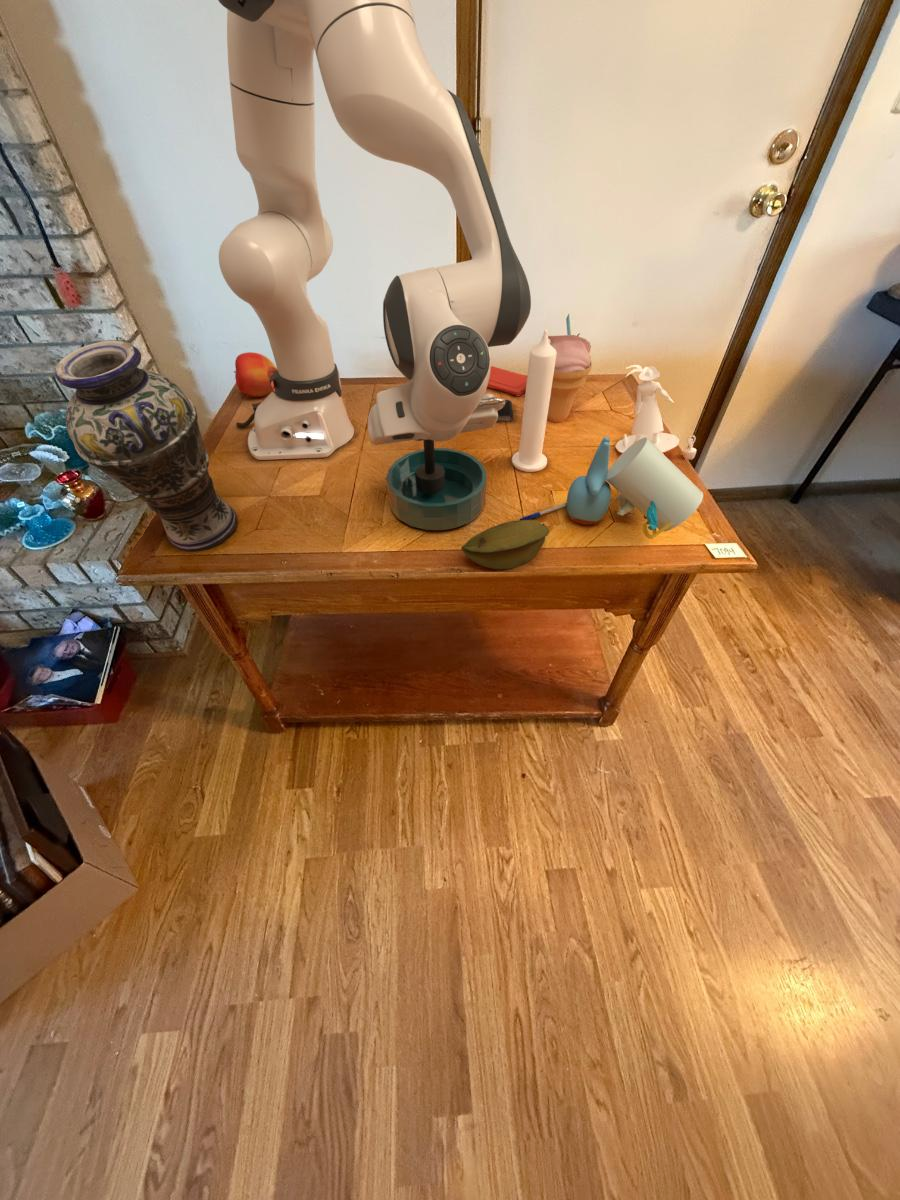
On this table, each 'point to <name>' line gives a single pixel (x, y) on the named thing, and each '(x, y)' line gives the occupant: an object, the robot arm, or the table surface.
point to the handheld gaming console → (507, 381)
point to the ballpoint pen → (543, 512)
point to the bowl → (446, 506)
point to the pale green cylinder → (653, 488)
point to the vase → (144, 440)
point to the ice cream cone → (567, 372)
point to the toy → (591, 489)
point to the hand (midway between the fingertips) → (427, 434)
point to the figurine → (651, 416)
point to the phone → (506, 412)
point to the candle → (536, 407)
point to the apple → (253, 374)
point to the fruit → (507, 544)
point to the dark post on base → (430, 472)
